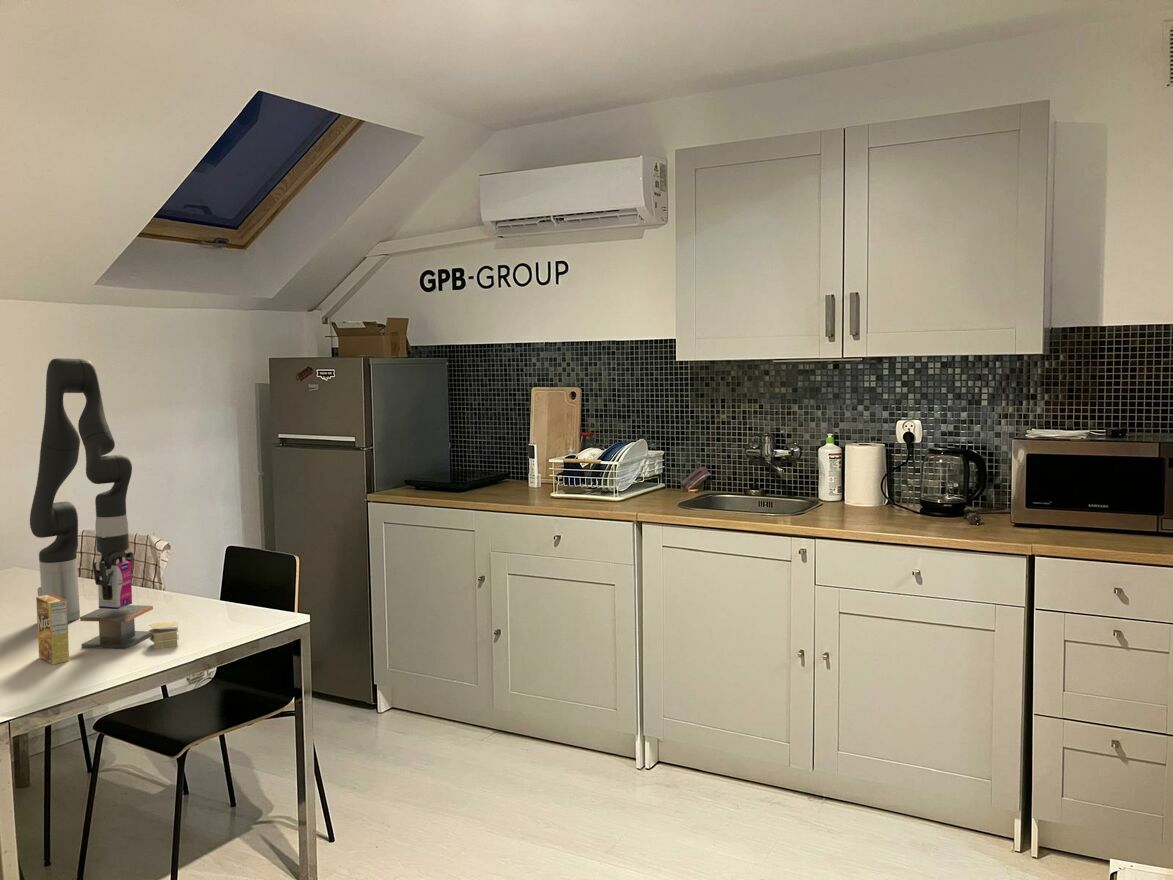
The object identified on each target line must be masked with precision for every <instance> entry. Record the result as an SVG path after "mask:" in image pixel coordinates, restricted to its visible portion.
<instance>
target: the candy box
mask: <svg viewBox="0 0 1173 880" xmlns="http://www.w3.org/2000/svg"><path fill="white" fill-rule="evenodd" d="M35 599H36V620H37V640H38V641H37V642H38V645H37V646H38V658H40V659H41V660H44V661H46V662H47V663H49V664H51V665H52V666H54V665H58V664H62V663H65V662H69V661H70V650H69V624H68V623H69V622H68V617H67V600H65V599H62V598H60V597H57V596H55V595H53V594H52V595H45V596H39V597H38V596H36V598H35Z"/></svg>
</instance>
